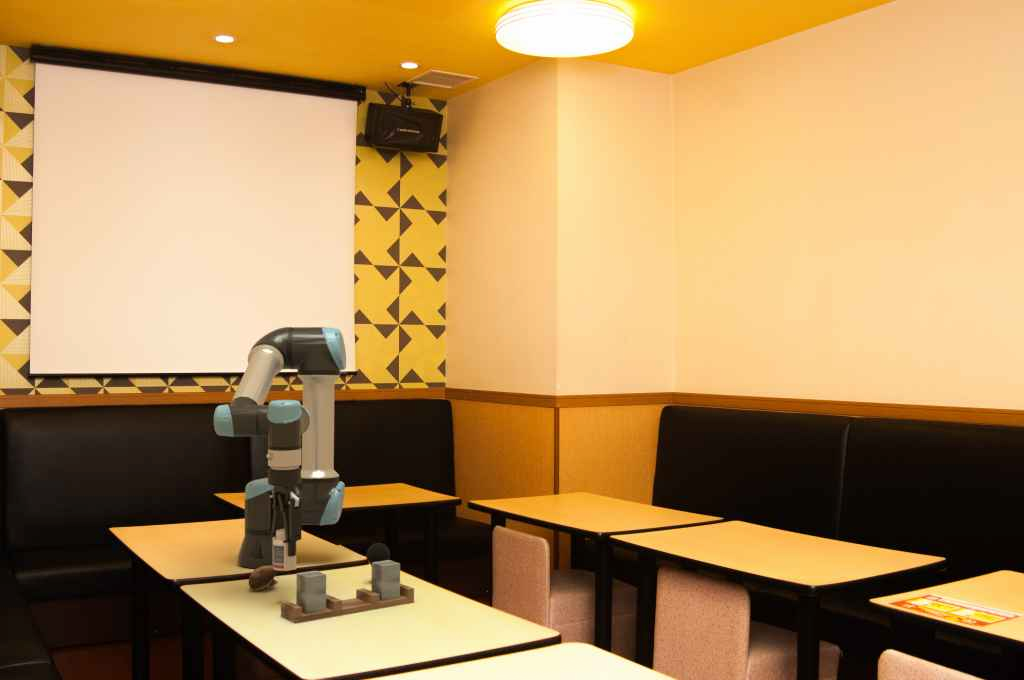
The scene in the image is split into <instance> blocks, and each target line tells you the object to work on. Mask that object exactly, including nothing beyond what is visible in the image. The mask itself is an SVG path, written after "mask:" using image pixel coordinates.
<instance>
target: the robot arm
mask: <svg viewBox="0 0 1024 680" xmlns="http://www.w3.org/2000/svg"><path fill="white" fill-rule="evenodd" d="M346 368H347V352H346V344H345V341H344V337H343V334H342V332H341V330H339V328H336V327H325V326H322V327H321V326H319V327H318V326H317V327H313V326H312V327H311V326H310V327H309V326H307V327H306V326H304V327H299V326H297V327H296V326H295V327H292V326H286V327H285V326H284V327H281V328H277V329H274V330H272V331H270V332H268V333H267V334H265V335H264V336H262V337H261V338H259V339H258V340H257V341H256V342H255V343H254V344H253V346H252V347H251V349H250V350H249V353H248V355H247V367H246V369H245V370H244V374H243V375H242V377H241V380H240V382H239V384H238V386H237V388H236V390H235V393H234V395H233V398H232V400H231V402H230V403H229V404H227V403H226V404H220V405H218V406H217V407H216V408H215V411H214V413H213V414H214V415H213V427H214V431H215V433H216V434H217V435H218V436H221V437H231V438H233V437H267V444H268V445H267V454H266V458H267V466H269V468H268V469H267V477H264V478H263V477H262V478H258V479H254V480H251V481H249V482H248V483H247V484H246V485H245V490H244V492H245V493H244V537H243V540H242V543H241V545H240V548H239V552H238V555H237V565H238V566H239V565H240V567H242V566H244V567H243V568H246V567H251V568H250V569H257V568H259V567H261V566H268V565H269V566H273V542H274V541H275V540H276V539H277V537H276V530H279V529H285V537H286V540H284V541H283V543H284V571H283V572H288V570H289V571H292V570H293V571H294V570H297V542H298V541H301V540H302V525H303V526H305V525H306V526H307V525H309V526H310V525H311V526H312V525H314V526H315V525H316V526H317V525H318V526H325V525H327V526H328V525H334V524H336V523H337V522H338V521H339V520H340V517H341V515H342V511H343V506H344V501H345V493H346V492H345V491H346V490H345V487H346V485H345V483H344V482H343V481H341V480H340V474H339V473H338V472H337V471H336V470H335V469H334V467H335V466H334V463H335V462H334V461H335V460H334V457H335V455H334V454H335V450H334V449H335V383H336V381H337V380H338V379H339V378H340V377H341V371H345V369H346ZM282 370H297V377H298V379H299V380H301V382H302V404H301V402H300V401H299V400H295V399H276V400H271V401H270V402H269V403H268V405H267V404H266V405H265V401H266V399H267V396H268V394H269V392H270V389H271V387H272V384H273V382H274V379H275V377H276V375H278V374H279V373H281V371H282ZM300 466H301V467H300Z"/></svg>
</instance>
